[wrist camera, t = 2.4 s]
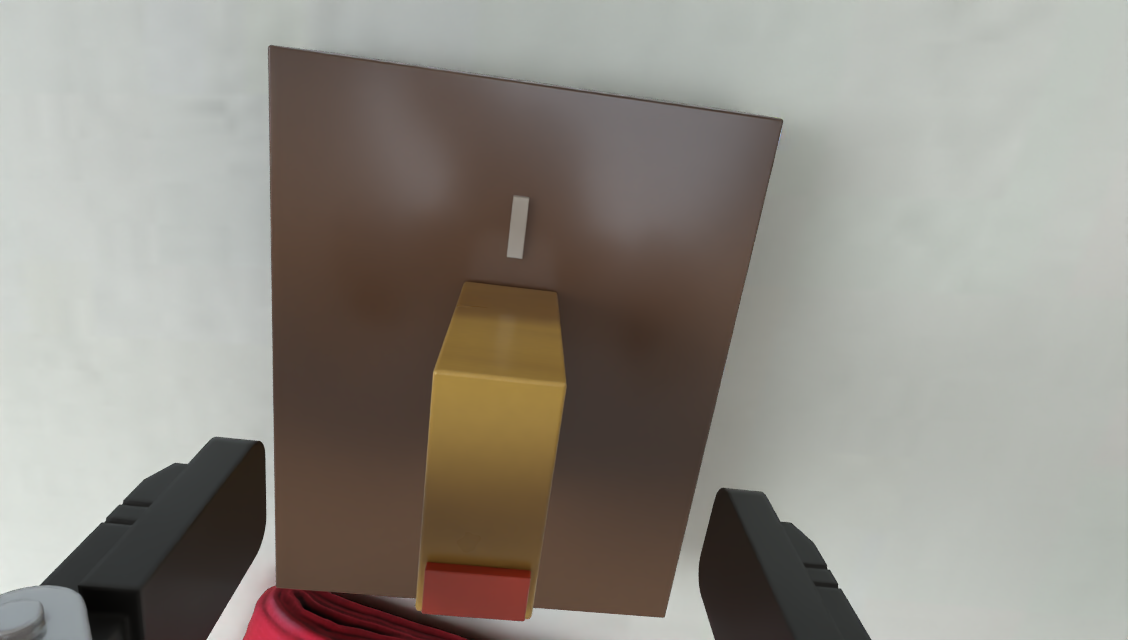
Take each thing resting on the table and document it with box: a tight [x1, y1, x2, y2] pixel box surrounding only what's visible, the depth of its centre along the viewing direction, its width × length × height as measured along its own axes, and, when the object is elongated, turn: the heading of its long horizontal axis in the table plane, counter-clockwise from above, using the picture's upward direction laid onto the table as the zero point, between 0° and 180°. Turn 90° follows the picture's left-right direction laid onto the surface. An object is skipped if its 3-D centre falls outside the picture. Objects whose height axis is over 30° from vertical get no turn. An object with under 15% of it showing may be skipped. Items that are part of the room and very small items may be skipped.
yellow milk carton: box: [415, 282, 567, 621], centre depth 14 cm, size 5×2×5 cm, turn 172°
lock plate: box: [268, 45, 783, 618], centre depth 18 cm, size 14×11×3 cm
